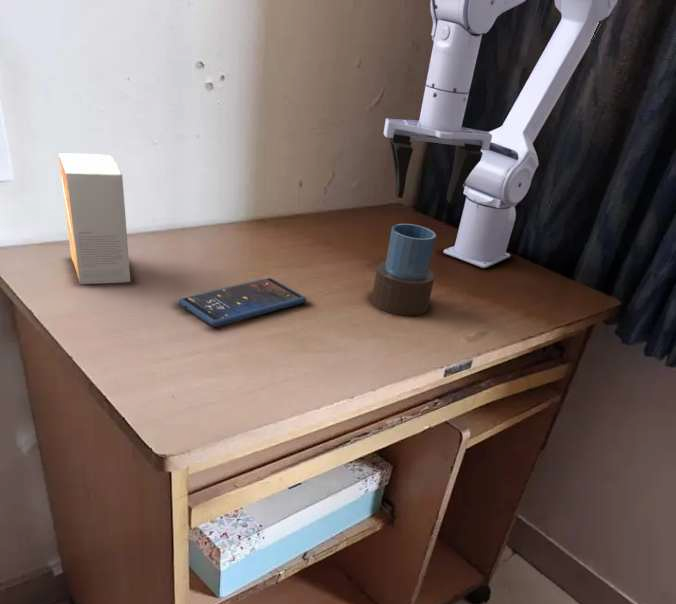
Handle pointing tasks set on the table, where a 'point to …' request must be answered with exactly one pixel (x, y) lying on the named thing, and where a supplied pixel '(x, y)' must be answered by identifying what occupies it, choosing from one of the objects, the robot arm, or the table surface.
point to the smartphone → (241, 301)
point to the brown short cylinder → (401, 293)
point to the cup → (409, 251)
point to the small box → (95, 217)
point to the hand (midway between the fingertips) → (424, 198)
